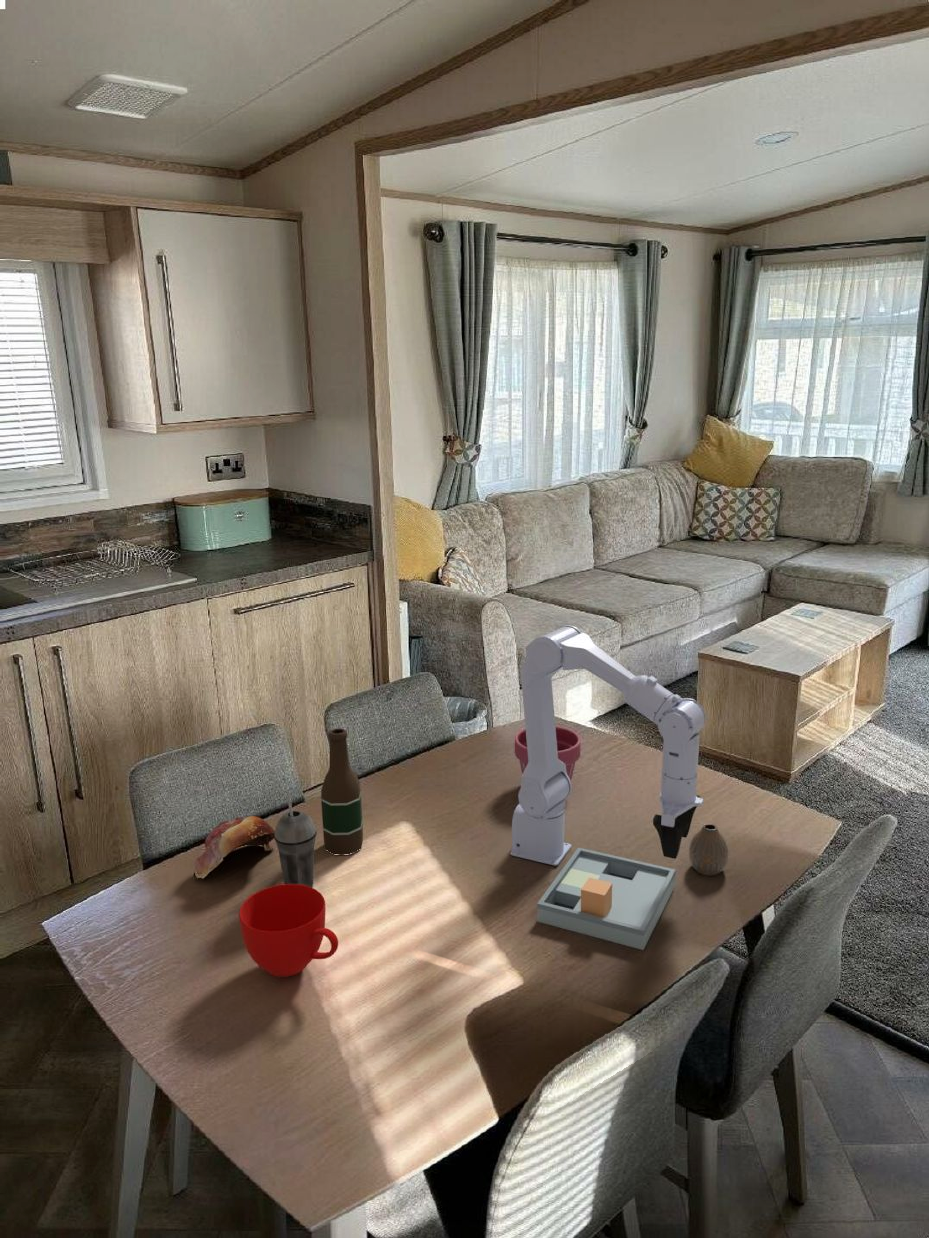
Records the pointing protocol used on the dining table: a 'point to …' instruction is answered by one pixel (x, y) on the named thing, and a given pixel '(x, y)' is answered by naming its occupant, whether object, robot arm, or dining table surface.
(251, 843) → the brown arched piece
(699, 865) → the vase
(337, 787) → the beer bottle
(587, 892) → the block
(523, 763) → the plant pot
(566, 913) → the box
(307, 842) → the beverage cup
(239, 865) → the dining table surface
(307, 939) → the ceramic cup
